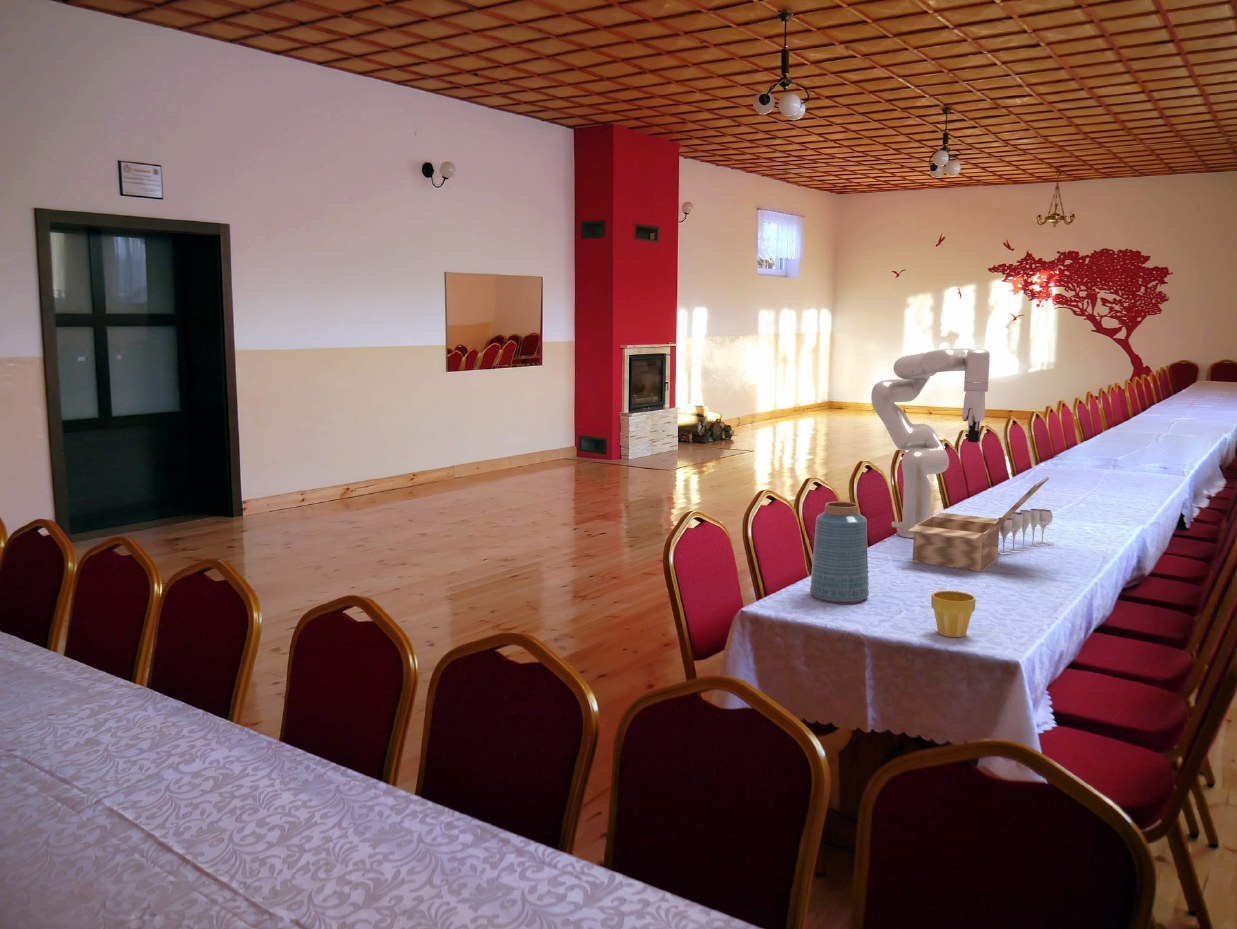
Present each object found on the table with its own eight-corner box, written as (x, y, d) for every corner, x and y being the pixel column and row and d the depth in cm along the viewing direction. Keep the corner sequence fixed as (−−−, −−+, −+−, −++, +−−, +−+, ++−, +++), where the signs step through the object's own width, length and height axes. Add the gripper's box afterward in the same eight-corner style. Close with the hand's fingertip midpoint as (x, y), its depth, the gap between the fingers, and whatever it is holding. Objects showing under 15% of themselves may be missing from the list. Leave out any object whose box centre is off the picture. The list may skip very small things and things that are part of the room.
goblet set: (1006, 556, 321) (1008, 516, 319) (991, 552, 326) (993, 514, 324) (1054, 544, 337) (1056, 507, 335) (1039, 541, 342) (1041, 504, 340)
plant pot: (937, 624, 249) (938, 587, 248) (978, 631, 244) (980, 593, 242) (924, 635, 241) (926, 597, 240) (967, 642, 235) (969, 603, 234)
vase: (835, 608, 264) (838, 511, 260) (798, 593, 278) (800, 502, 274) (881, 599, 272) (884, 506, 268) (842, 586, 286) (845, 497, 282)
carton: (904, 566, 307) (905, 529, 306) (937, 546, 335) (939, 512, 333) (975, 577, 295) (977, 538, 293) (1003, 554, 322) (1005, 519, 320)
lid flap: (1034, 484, 289) (1036, 486, 289) (1047, 476, 304) (1049, 478, 303) (984, 533, 300) (986, 535, 299) (999, 523, 314) (1001, 525, 314)
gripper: (970, 385, 330) (968, 438, 333) (957, 388, 318) (955, 443, 321) (993, 386, 326) (990, 440, 328) (981, 389, 313) (978, 445, 316)
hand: (973, 441), depth 324 cm, fingers closed
